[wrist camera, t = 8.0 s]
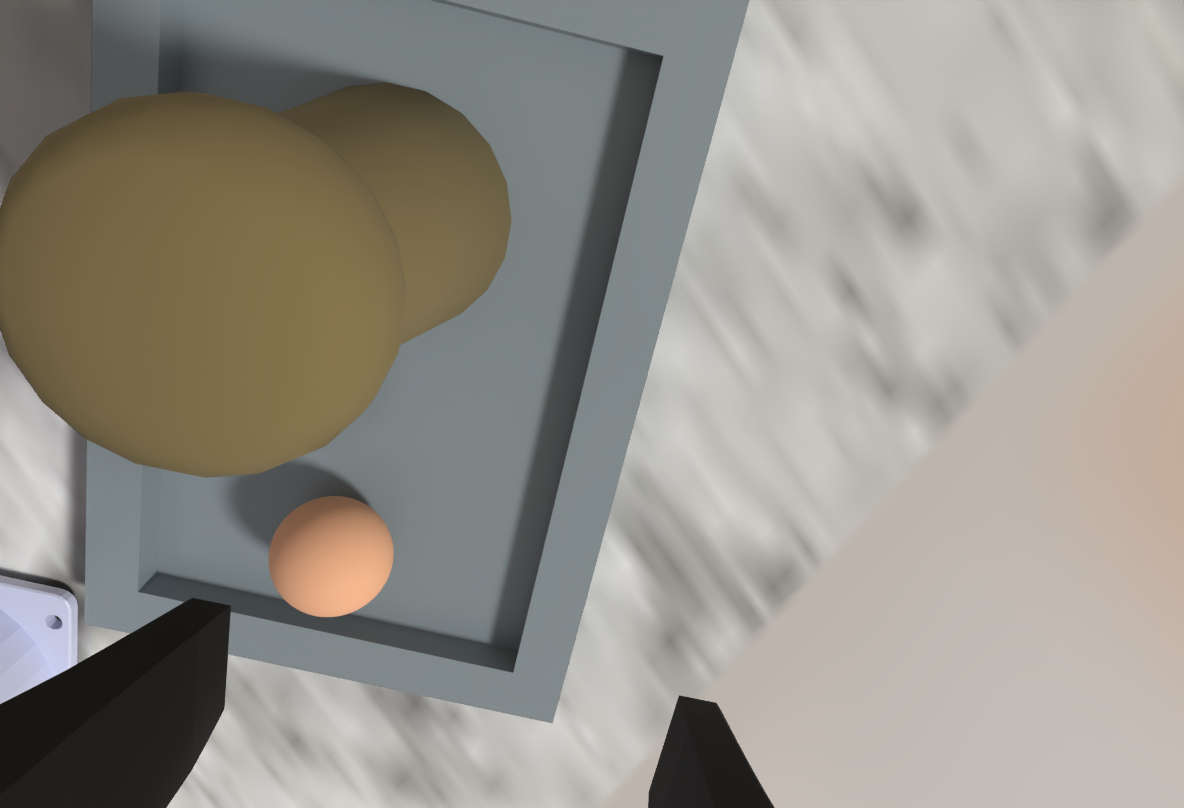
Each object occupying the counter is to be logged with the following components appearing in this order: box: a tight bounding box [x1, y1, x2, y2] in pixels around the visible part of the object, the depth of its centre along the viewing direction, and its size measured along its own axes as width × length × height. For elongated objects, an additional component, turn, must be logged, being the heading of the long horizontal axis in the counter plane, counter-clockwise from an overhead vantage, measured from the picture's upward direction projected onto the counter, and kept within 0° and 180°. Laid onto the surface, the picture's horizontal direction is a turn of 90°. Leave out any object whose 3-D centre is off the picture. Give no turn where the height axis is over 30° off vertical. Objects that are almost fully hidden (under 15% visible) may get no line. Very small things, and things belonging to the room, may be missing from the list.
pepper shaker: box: [0, 82, 512, 478], centre depth 15 cm, size 6×6×11 cm
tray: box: [84, 0, 749, 723], centre depth 21 cm, size 20×14×2 cm
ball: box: [268, 496, 394, 617], centre depth 21 cm, size 3×3×3 cm
